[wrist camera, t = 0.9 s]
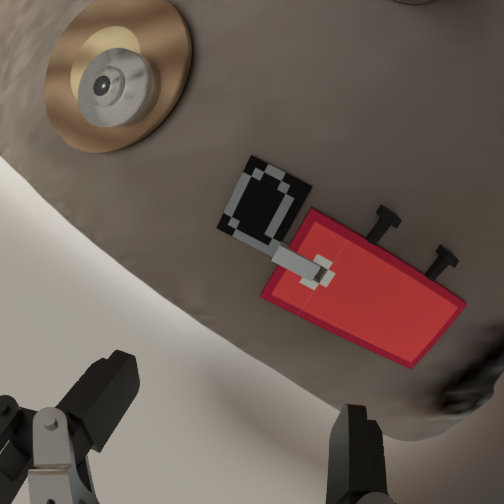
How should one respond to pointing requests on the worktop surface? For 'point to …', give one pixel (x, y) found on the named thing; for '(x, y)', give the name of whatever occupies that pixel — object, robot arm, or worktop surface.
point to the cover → (118, 88)
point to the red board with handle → (340, 269)
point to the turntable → (107, 37)
